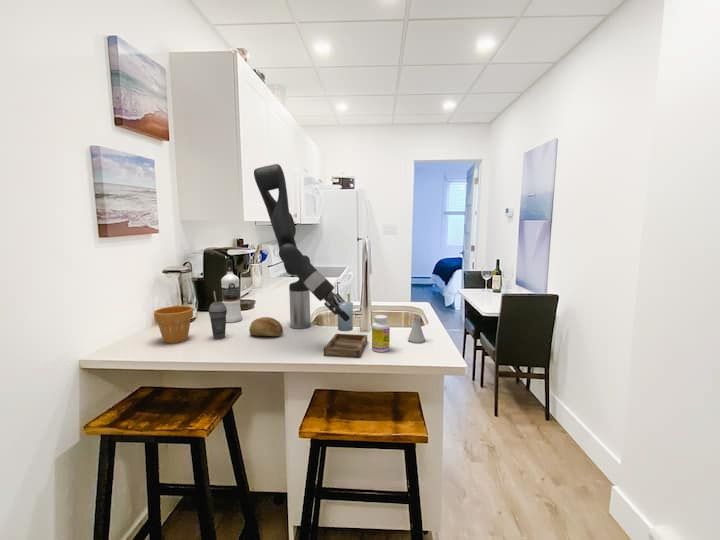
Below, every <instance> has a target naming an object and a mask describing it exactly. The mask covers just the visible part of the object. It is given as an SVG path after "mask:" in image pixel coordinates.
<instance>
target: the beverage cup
mask: <svg viewBox="0 0 720 540" xmlns="http://www.w3.org/2000/svg"><path fill="white" fill-rule="evenodd" d="M213 298H214V301H213V302H212V303H211V304H210V306H209V308H208V315H209V317H210V323H211V324H210V325H211V332H212V336H213V339H214V340H223V339H225V338H226V326H227V323H226V314H227V308H226V306H225V304H224V303H222V301H220V300H219V301H217V297H216V291H215V290H214V291H213ZM222 338H223V339H222Z"/></svg>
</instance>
